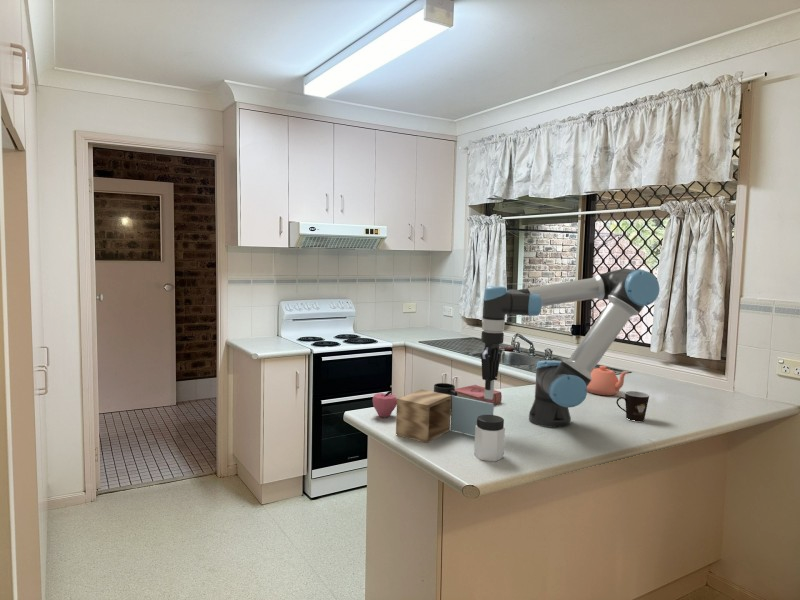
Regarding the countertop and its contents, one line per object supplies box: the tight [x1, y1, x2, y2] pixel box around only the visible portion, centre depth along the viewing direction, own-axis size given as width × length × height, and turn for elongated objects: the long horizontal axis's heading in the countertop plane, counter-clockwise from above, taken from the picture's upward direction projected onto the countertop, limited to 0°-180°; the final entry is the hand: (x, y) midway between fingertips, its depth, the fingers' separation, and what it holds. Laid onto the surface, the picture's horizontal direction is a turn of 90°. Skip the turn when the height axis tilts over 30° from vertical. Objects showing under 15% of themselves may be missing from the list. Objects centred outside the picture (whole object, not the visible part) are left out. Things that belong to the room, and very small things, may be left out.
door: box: [449, 395, 495, 437], centre depth 190 cm, size 1×16×12 cm, turn 57°
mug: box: [433, 382, 457, 403], centre depth 219 cm, size 8×12×10 cm
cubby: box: [395, 389, 451, 444], centre depth 192 cm, size 12×16×12 cm
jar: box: [473, 414, 506, 462], centre depth 172 cm, size 9×8×12 cm
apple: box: [372, 390, 398, 418], centre depth 208 cm, size 10×9×10 cm
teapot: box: [587, 365, 629, 396], centre depth 254 cm, size 22×15×12 cm
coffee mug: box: [616, 390, 650, 422], centre depth 216 cm, size 12×9×10 cm
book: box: [455, 384, 503, 406], centre depth 233 cm, size 14×15×5 cm
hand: (488, 398), depth 194 cm, fingers closed
